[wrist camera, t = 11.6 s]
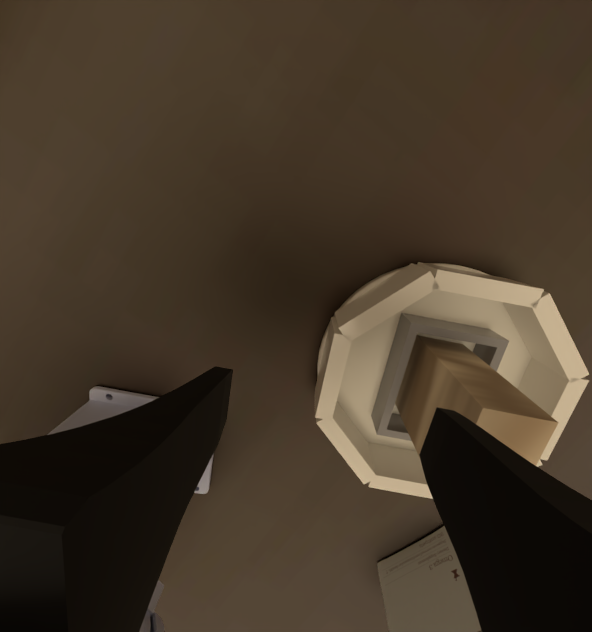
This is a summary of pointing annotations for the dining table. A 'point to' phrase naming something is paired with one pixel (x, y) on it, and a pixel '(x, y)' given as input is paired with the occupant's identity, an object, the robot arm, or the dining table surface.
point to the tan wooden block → (469, 398)
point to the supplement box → (427, 588)
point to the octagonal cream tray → (444, 324)
